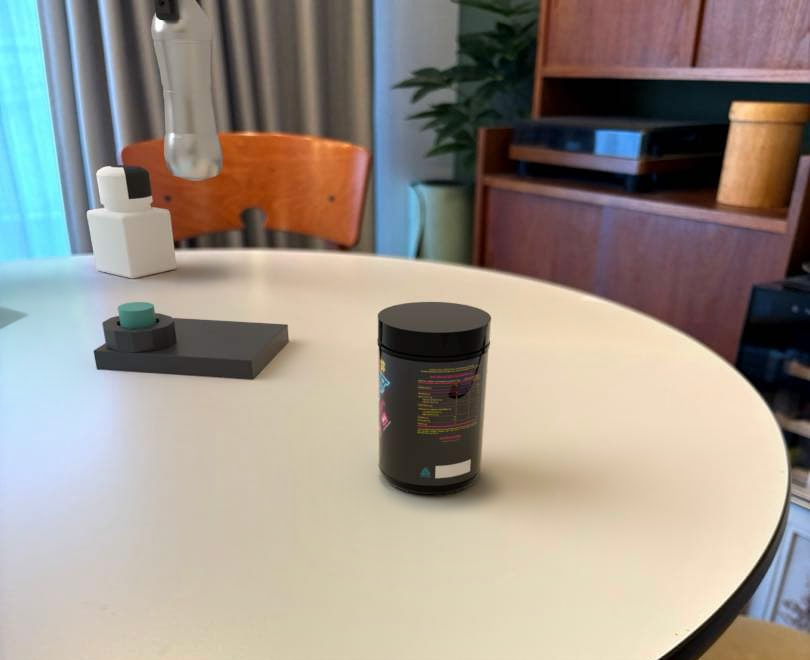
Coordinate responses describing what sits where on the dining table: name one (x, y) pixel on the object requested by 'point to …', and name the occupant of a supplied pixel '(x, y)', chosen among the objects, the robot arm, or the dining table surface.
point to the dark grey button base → (191, 347)
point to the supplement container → (432, 395)
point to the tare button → (137, 314)
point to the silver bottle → (188, 93)
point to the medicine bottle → (130, 225)
